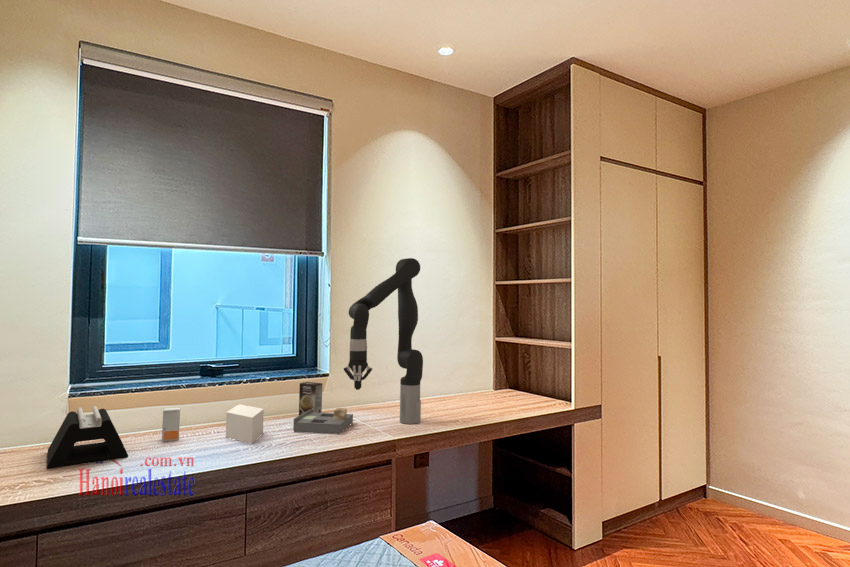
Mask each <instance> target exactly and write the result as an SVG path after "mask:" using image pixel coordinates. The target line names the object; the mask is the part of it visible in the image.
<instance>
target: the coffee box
mask: <svg viewBox="0 0 850 567" xmlns="http://www.w3.org/2000/svg"><path fill="white" fill-rule="evenodd" d="M298 392H299V398H298V399H299V400H298V416H299V415H301V414H303V413H305V412H306V411H308V410H310V409H312V412H313V413H323V410H322V409H323V408H322V407H323V406H322V404H323V382H311V381H305V382H304V381H303V382H300V383H299V391H298Z"/></svg>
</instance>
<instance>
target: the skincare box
mask: <svg viewBox="0 0 850 567" xmlns="http://www.w3.org/2000/svg"><path fill="white" fill-rule="evenodd" d="M180 419H181V408H180V407H169V408H168V407H167V408H163V409H162V431H161V441H162V442H169V441H170V442H171V441H179V440H180V426H181V425H180V421H181V420H180Z"/></svg>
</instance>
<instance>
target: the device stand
mask: <svg viewBox="0 0 850 567" xmlns="http://www.w3.org/2000/svg"><path fill="white" fill-rule="evenodd" d="M91 408H92V409H91V410H92V413H89V414H88V413H87V414H86V413H85V414H84V411H83V408H82V407H80V406H79V407H77V409H76V411H73V410H72V411H69V412H68V413H67V414H66V416H65V418H64V420H63V421H62V423H61V425H60V427H59V428H58V431H57V432H56V434H55V436H54V437H53V439H52V442H51V443H50V445H49V446H48V448H47V457H46V458H47V460H46V467H47V468H46V469H47V470H53V469H58V468H64V467H72V466H80V465H86V464H93V463H99V462H106V461H107V462H108V461H112V460H113V461H115V460H120V459H126V458H129V455H128V452H127V450H126V447H125V445H124V443H123V441H122V439H121V437H120V435H119V433H118V431H117V429H116V427H115V425H114V423H113V421H112V419H111V417H110V416H109V413H108V412H107V411H108V410H106V409H105V408H99V409H98V406H96V405H94V406H91ZM95 440H97V441H98V440H104V441H100V442H93V443H85V444H77V445H75V444H76V443H79V442H88V441H95Z"/></svg>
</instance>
